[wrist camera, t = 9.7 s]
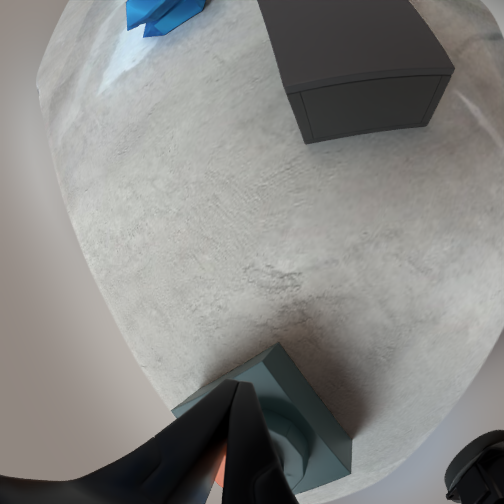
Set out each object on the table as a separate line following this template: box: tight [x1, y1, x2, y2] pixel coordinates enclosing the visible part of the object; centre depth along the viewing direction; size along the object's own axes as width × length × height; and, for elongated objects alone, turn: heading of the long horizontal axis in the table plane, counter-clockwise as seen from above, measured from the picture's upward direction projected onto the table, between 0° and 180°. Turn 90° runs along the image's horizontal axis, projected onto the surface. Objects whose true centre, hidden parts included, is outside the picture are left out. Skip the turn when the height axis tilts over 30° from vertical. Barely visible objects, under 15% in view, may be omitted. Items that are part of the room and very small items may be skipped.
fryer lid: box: [257, 0, 455, 94], centre depth 12 cm, size 12×9×1 cm
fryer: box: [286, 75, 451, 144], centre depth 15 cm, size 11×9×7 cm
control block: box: [171, 342, 352, 495], centre depth 16 cm, size 10×8×6 cm
